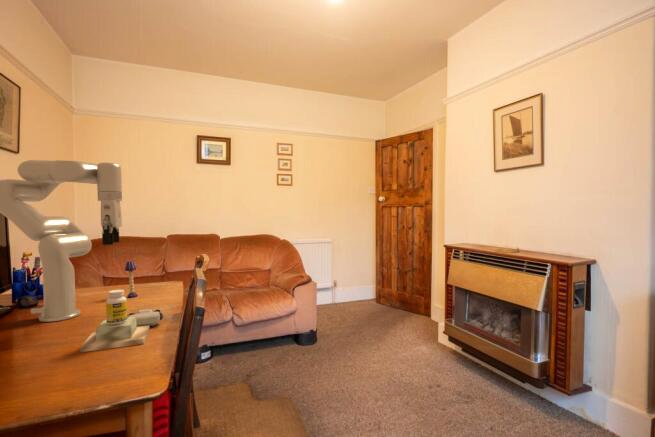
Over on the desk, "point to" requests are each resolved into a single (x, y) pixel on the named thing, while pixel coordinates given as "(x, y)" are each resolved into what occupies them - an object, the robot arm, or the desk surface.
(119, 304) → the supplement bottle
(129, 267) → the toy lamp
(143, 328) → the base board
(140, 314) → the robot toy
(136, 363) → the desk surface
